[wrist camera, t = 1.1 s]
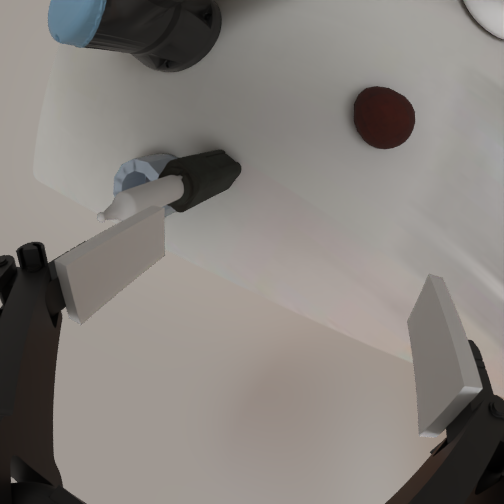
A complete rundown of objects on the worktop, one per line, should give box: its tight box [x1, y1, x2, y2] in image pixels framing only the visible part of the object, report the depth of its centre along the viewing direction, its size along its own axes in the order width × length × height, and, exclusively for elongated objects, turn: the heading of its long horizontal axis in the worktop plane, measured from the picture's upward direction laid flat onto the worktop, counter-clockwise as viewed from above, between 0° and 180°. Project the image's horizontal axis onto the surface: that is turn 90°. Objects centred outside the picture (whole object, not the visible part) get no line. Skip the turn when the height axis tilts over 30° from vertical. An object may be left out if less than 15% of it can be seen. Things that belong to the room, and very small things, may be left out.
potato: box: [354, 86, 415, 149], centre depth 30 cm, size 8×8×8 cm
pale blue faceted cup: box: [113, 154, 177, 217], centre depth 44 cm, size 10×10×8 cm
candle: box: [97, 150, 241, 222], centre depth 33 cm, size 5×5×25 cm
